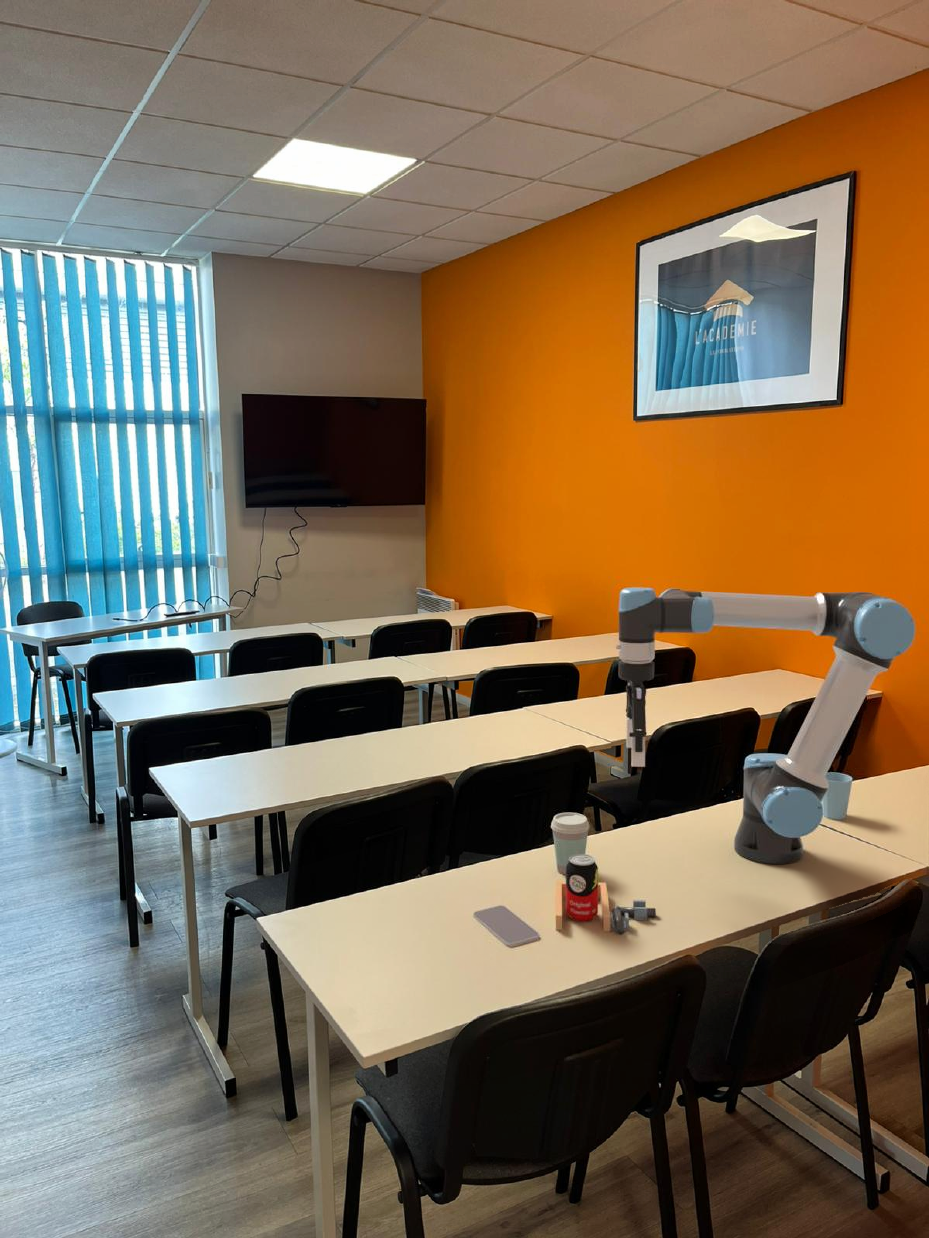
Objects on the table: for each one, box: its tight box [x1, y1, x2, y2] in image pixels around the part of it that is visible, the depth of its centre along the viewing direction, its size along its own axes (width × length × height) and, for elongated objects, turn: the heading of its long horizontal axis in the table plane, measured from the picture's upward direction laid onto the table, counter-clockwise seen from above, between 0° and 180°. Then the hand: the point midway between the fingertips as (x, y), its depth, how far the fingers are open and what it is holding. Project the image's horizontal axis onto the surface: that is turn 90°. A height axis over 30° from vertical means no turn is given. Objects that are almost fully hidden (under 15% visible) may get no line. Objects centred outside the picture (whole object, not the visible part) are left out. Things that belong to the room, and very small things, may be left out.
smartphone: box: [472, 904, 540, 948], centre depth 175 cm, size 7×1×15 cm
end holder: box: [555, 880, 611, 933], centre depth 180 cm, size 10×15×3 cm
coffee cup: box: [550, 812, 590, 875], centre depth 200 cm, size 9×8×12 cm
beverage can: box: [565, 853, 599, 923], centre depth 178 cm, size 6×6×12 cm
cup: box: [821, 771, 853, 821], centre depth 229 cm, size 8×8×10 cm
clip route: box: [610, 899, 657, 936], centre depth 176 cm, size 9×10×2 cm
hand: (635, 756), depth 194 cm, fingers open, 13 cm apart
